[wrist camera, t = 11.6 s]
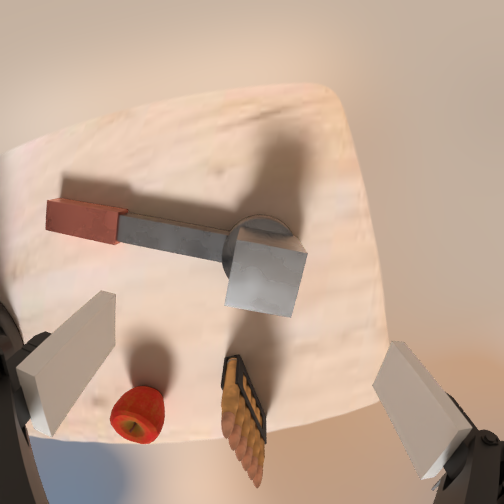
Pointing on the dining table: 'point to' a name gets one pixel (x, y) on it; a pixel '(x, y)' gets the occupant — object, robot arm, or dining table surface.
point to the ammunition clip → (243, 418)
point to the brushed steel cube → (265, 272)
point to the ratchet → (151, 230)
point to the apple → (139, 415)
